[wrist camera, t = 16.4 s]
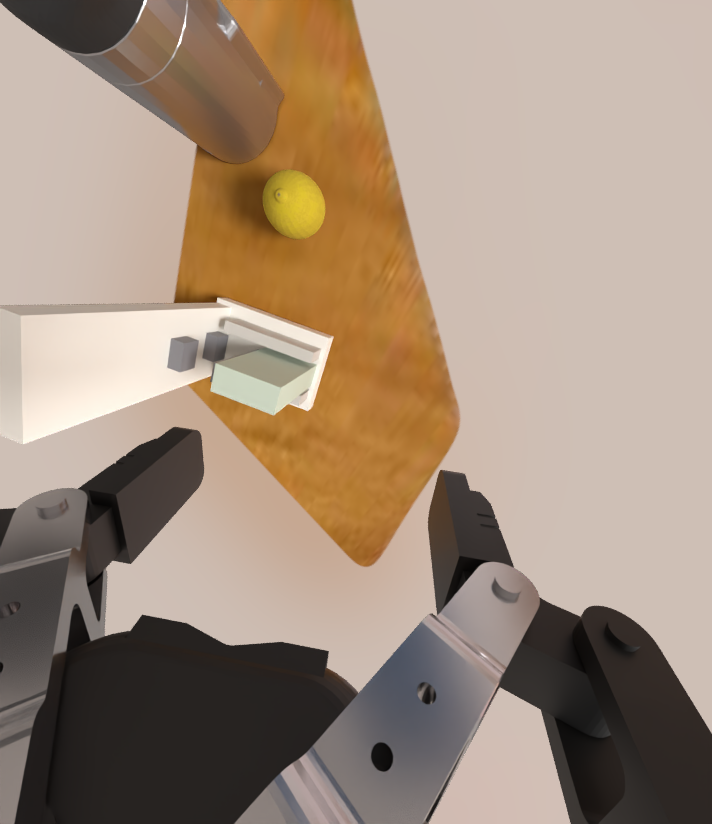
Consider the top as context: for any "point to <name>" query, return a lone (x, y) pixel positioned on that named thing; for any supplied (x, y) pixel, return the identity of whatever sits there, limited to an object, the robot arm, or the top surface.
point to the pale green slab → (262, 379)
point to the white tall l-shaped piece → (128, 356)
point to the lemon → (293, 204)
